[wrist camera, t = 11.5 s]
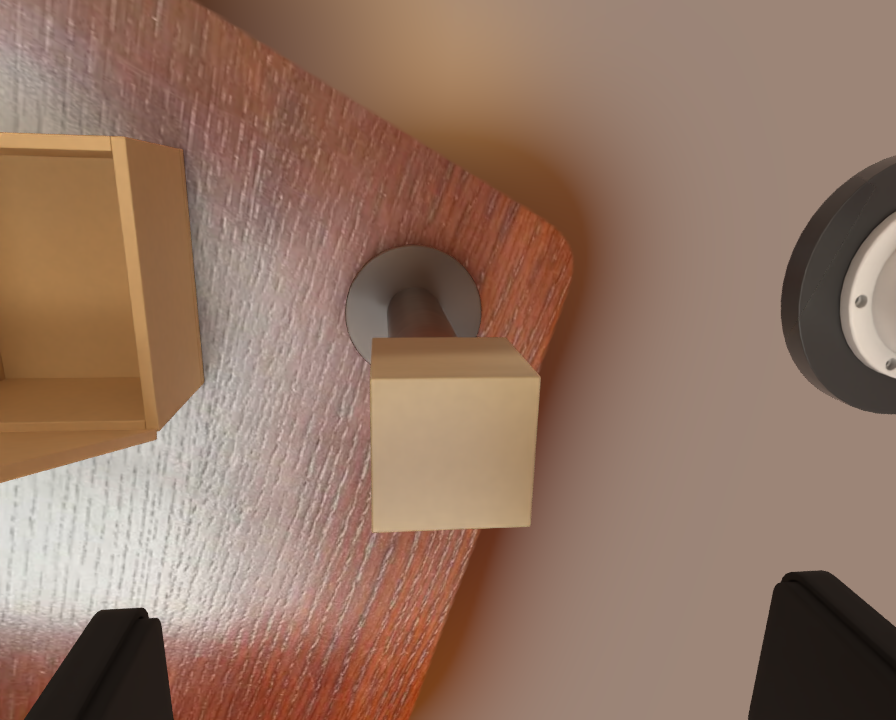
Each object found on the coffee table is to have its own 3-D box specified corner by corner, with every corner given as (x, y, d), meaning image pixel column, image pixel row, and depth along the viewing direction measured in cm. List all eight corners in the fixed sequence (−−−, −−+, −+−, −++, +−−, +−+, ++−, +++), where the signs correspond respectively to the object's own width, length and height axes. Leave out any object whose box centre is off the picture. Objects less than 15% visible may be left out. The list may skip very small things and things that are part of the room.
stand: (377, 221, 34) (375, 244, 19) (500, 276, 36) (591, 340, 20) (326, 345, 36) (285, 461, 20) (446, 393, 37) (492, 533, 22)
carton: (-43, 142, 30) (-176, 126, 23) (183, 149, 32) (124, 136, 24) (2, 385, 34) (-100, 437, 27) (204, 382, 35) (159, 431, 28)
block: (371, 337, 19) (369, 378, 15) (506, 336, 20) (541, 376, 16) (373, 462, 21) (371, 533, 16) (499, 459, 21) (530, 527, 17)
